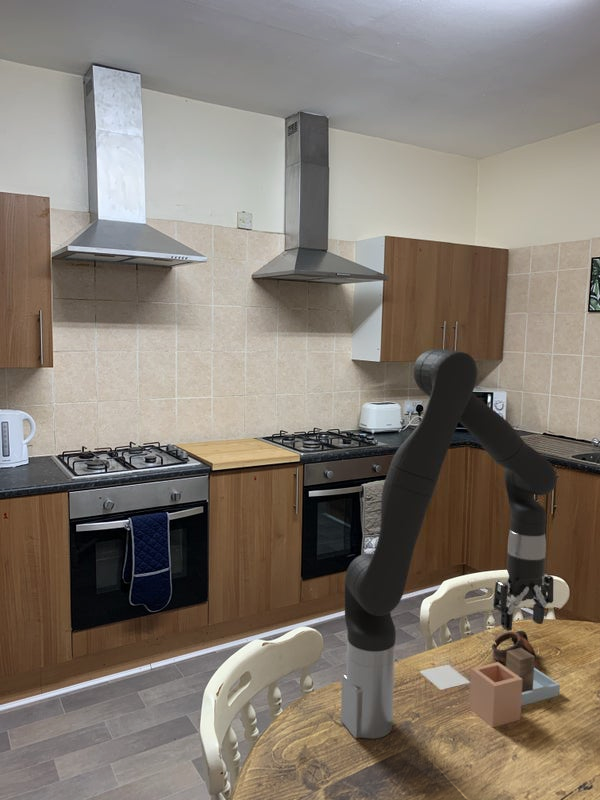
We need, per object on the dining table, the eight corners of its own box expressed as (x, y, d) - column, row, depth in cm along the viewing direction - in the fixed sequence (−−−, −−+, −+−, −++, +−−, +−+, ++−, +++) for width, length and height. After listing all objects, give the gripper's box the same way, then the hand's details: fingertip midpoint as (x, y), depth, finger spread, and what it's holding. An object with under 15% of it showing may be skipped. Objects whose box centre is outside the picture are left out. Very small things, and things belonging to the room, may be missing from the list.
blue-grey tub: (511, 711, 125) (512, 697, 125) (478, 685, 134) (479, 672, 134) (559, 697, 130) (559, 684, 130) (524, 674, 139) (525, 661, 139)
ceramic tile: (440, 692, 131) (440, 689, 131) (419, 673, 139) (419, 671, 139) (470, 684, 135) (470, 682, 135) (448, 667, 142) (448, 664, 142)
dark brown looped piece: (538, 681, 138) (521, 650, 137) (500, 686, 143) (483, 656, 142) (545, 646, 148) (529, 617, 147) (509, 652, 153) (493, 624, 152)
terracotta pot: (492, 730, 119) (494, 686, 118) (468, 710, 125) (470, 668, 124) (520, 722, 122) (522, 679, 121) (495, 703, 128) (498, 661, 127)
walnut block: (518, 696, 130) (520, 659, 129) (504, 686, 133) (506, 651, 133) (532, 692, 131) (534, 656, 131) (519, 682, 135) (521, 647, 134)
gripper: (512, 562, 123) (508, 639, 125) (565, 553, 129) (561, 627, 130) (487, 550, 130) (484, 623, 132) (538, 542, 136) (534, 613, 137)
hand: (522, 625), depth 131 cm, fingers open, 8 cm apart
